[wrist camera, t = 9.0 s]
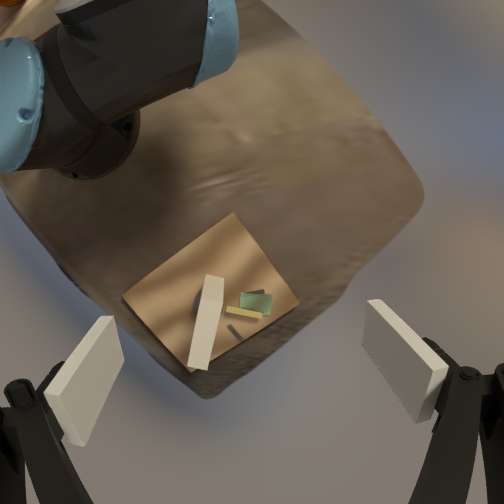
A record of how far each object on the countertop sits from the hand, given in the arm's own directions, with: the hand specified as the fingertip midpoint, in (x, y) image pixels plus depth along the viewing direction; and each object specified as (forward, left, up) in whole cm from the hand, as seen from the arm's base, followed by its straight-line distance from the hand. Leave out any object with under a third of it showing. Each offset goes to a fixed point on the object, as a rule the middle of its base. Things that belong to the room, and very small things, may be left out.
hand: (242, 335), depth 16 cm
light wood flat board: (+6, -9, -29) cm, 30 cm away
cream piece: (+8, -7, -27) cm, 29 cm away
